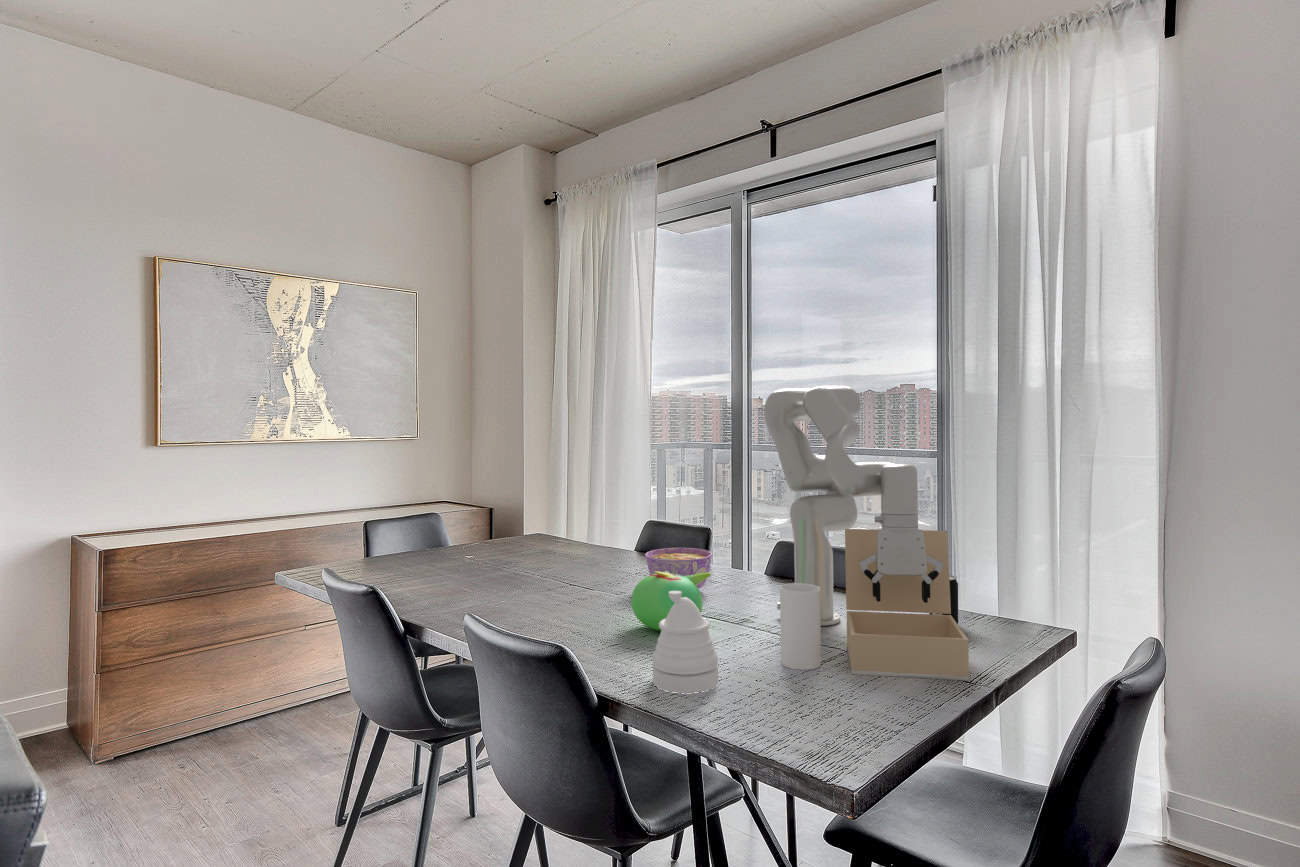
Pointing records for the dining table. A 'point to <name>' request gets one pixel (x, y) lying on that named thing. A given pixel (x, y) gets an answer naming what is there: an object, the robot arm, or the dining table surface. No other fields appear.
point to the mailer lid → (895, 577)
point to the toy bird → (663, 595)
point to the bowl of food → (679, 561)
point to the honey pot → (684, 650)
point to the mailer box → (907, 645)
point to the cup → (800, 626)
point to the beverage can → (952, 599)
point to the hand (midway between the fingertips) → (901, 600)
